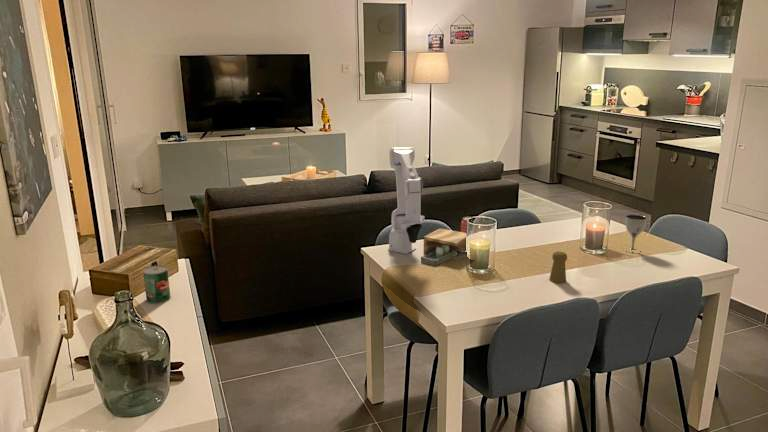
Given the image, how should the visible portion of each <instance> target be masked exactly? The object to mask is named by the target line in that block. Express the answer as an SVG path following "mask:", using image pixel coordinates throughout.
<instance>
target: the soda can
mask: <svg viewBox="0 0 768 432" xmlns="http://www.w3.org/2000/svg"><path fill="white" fill-rule="evenodd" d="M469 218H475V217H473V216H463V217H462V220H461V223H460V232H463V233H466V231H467V220H468V219H469Z"/></svg>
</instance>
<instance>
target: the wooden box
mask: <svg viewBox="0 0 768 432" xmlns="http://www.w3.org/2000/svg"><path fill="white" fill-rule="evenodd" d="M442 244H449V248H450V249H454V250H457V251H456V252H460V251H461V253H465V251H466V233H463V232H461V231H457V230H452V229H451V230H450V229H445V228H438V229H436V230H433V232H430V233H428V234H427V235H424V236H423V256H424V255H426V254H428V253H430V252H433V251H435V250H436V247H437V246H442Z"/></svg>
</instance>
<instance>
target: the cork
mask: <svg viewBox="0 0 768 432" xmlns="http://www.w3.org/2000/svg"><path fill="white" fill-rule="evenodd" d="M567 260H568V256H567V253H566V252H564V251H559V250H558V251H555V252H553V253H552V261H553V263H552V266H551V269H550V270H551V271H550V275H549V281H550V282H552V283H555V284H564V283H567V273H566V270H567V269H566V261H567Z"/></svg>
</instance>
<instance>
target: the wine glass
mask: <svg viewBox="0 0 768 432" xmlns="http://www.w3.org/2000/svg"><path fill="white" fill-rule="evenodd" d="M646 225H647V217H646V216H644V215H641V214H634V213H633V214H626V216H625V228H626V231H627V232H628V233H629V235H630V236H631V247H628V248H629V249H631V250H636V249H637V248H635V242H636V238H637V237H638V236H639V235H641V233H642V232H643V231H644V230H645V228H646ZM634 248H635V249H634Z"/></svg>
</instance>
